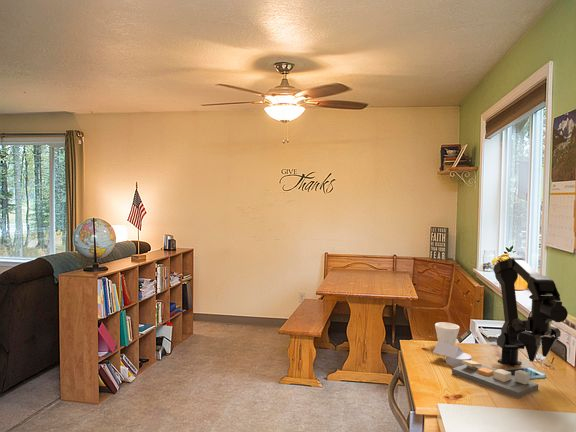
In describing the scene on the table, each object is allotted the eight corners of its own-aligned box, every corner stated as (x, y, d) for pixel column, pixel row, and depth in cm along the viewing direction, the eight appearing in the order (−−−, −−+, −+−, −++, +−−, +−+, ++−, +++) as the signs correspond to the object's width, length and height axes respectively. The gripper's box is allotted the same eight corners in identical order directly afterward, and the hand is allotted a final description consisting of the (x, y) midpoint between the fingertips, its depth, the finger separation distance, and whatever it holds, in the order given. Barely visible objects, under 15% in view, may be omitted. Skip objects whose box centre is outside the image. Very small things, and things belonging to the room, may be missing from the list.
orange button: (483, 373, 164) (483, 367, 164) (493, 377, 161) (494, 370, 161) (477, 376, 162) (477, 369, 162) (487, 380, 159) (488, 372, 159)
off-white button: (499, 375, 160) (499, 368, 159) (510, 379, 156) (511, 372, 156) (493, 378, 157) (493, 370, 157) (504, 382, 154) (504, 374, 154)
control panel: (472, 367, 173) (473, 359, 173) (538, 389, 153) (538, 381, 153) (451, 374, 165) (452, 366, 165) (518, 398, 146) (518, 390, 146)
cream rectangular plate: (471, 363, 169) (471, 360, 169) (481, 366, 166) (481, 363, 166) (461, 363, 166) (462, 360, 166) (471, 366, 163) (472, 363, 163)
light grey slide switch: (519, 379, 156) (519, 369, 156) (529, 382, 153) (529, 373, 153) (514, 380, 154) (514, 371, 154) (524, 384, 152) (525, 374, 151)
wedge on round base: (432, 361, 178) (466, 370, 170) (433, 344, 178) (466, 352, 169) (441, 355, 185) (474, 363, 176) (442, 339, 185) (475, 346, 176)
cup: (455, 352, 189) (456, 330, 189) (431, 347, 194) (432, 326, 194) (460, 346, 198) (461, 324, 197) (437, 341, 203) (438, 321, 203)
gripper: (530, 306, 171) (528, 347, 172) (503, 312, 160) (501, 356, 161) (562, 313, 162) (559, 356, 163) (536, 320, 151) (533, 366, 152)
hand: (538, 358), depth 160 cm, fingers open, 9 cm apart
